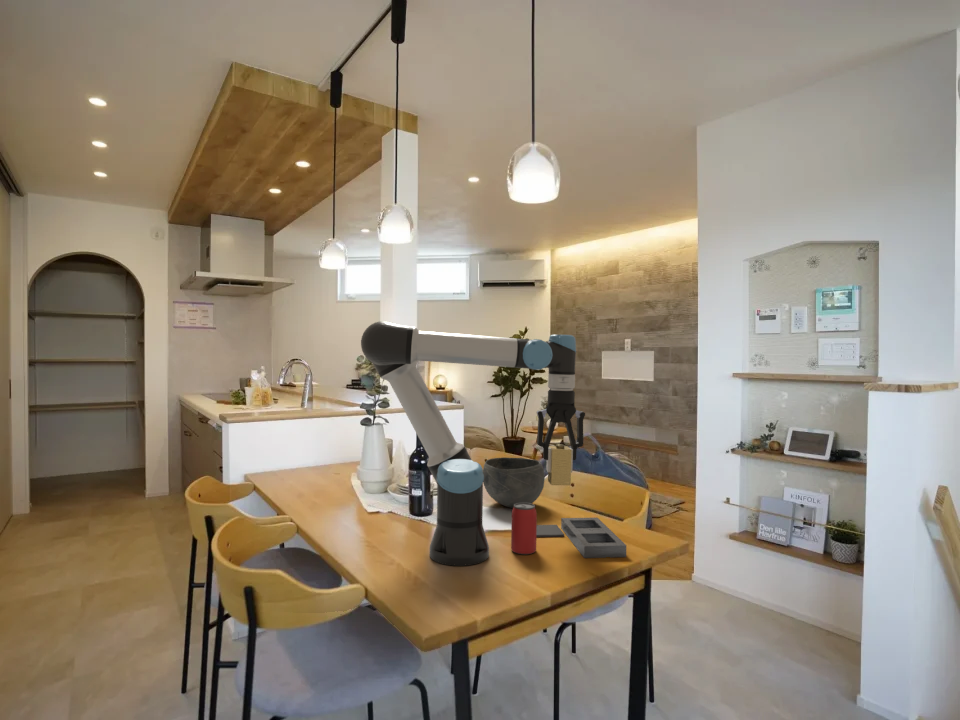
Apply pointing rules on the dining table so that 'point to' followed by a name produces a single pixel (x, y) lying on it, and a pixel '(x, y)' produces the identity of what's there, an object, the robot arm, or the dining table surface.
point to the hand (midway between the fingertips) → (559, 471)
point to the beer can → (523, 528)
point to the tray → (593, 538)
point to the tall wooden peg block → (560, 465)
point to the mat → (548, 531)
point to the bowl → (513, 480)
